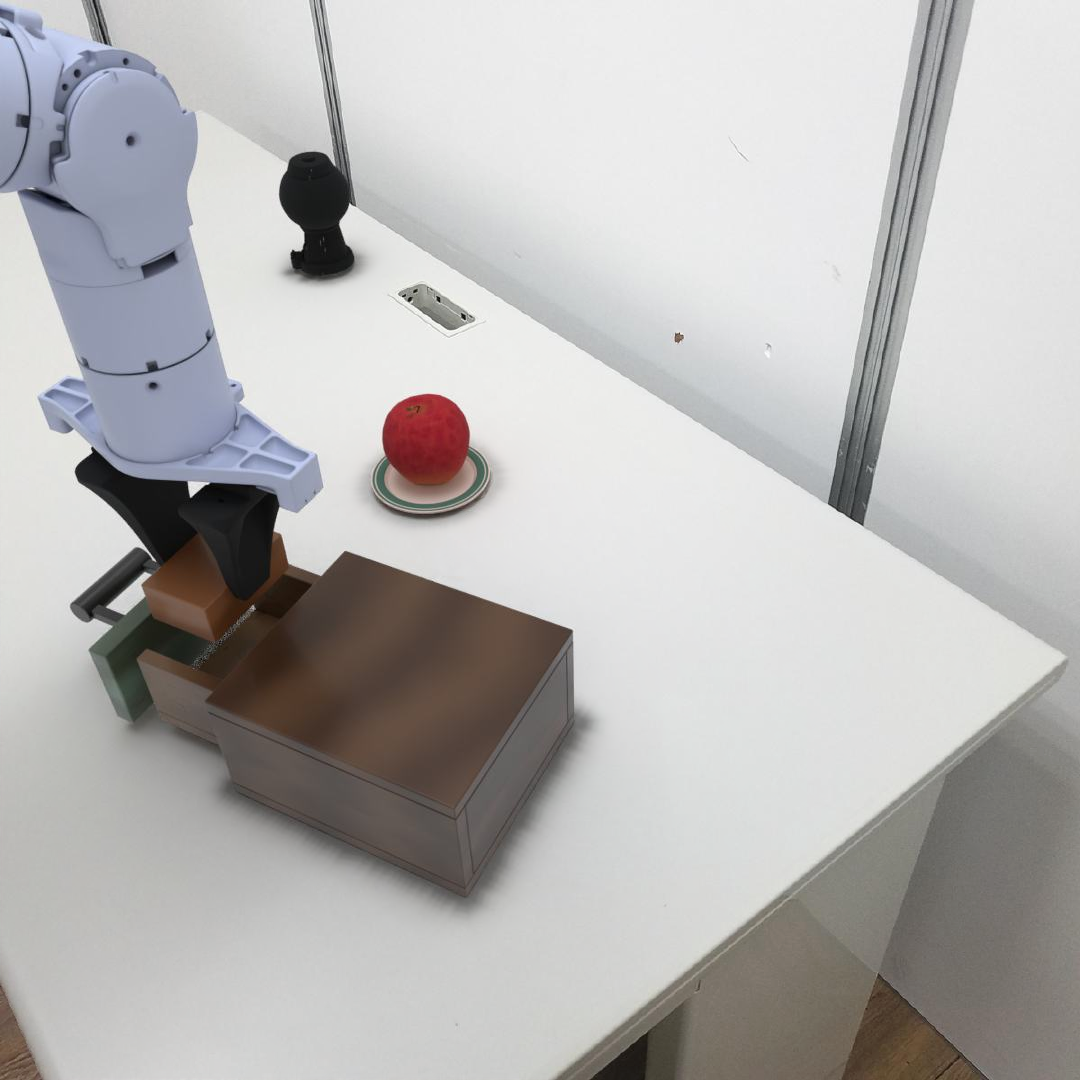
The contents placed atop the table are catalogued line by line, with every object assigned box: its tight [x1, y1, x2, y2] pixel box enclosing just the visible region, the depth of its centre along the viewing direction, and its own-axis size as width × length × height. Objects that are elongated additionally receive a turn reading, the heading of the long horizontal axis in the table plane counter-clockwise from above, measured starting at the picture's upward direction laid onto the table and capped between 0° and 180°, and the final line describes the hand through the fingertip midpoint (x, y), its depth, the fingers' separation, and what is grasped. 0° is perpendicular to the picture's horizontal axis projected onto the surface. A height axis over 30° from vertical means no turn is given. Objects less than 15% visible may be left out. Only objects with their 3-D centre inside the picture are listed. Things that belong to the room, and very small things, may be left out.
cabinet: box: [204, 550, 575, 898], centre depth 56 cm, size 14×12×7 cm
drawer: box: [69, 546, 322, 746], centre depth 60 cm, size 17×10×5 cm, turn 63°
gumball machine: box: [278, 147, 355, 278], centre depth 95 cm, size 7×6×10 cm
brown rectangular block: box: [141, 531, 290, 644], centre depth 56 cm, size 6×4×2 cm, turn 153°
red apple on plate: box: [370, 393, 491, 515], centre depth 73 cm, size 8×8×6 cm
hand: (217, 573), depth 56 cm, fingers closed on brown rectangular block, 4 cm apart
